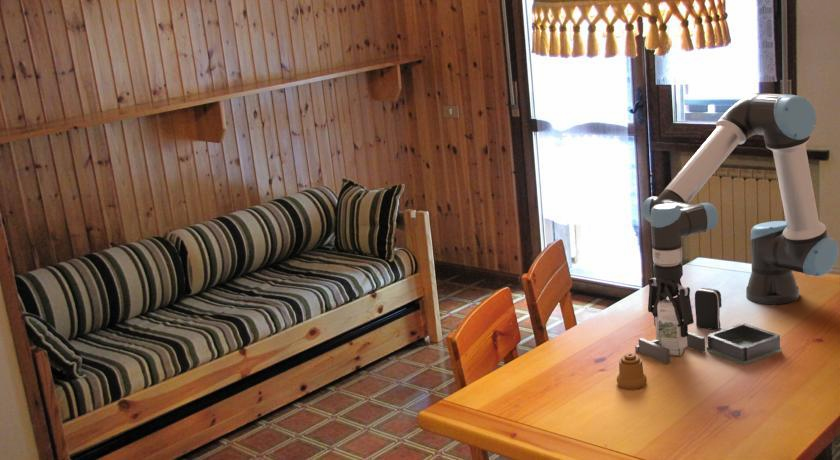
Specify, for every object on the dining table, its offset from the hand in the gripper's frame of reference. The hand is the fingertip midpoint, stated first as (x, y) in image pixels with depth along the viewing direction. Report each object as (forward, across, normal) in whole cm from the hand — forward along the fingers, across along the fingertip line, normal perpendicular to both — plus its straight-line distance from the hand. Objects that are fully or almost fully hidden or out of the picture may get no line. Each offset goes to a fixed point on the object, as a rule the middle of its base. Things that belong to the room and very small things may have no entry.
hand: (671, 342), depth 252 cm
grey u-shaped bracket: (+3, 0, 0) cm, 3 cm away
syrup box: (+3, 0, 0) cm, 3 cm away
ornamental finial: (+3, +9, -21) cm, 23 cm away
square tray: (+3, +12, +14) cm, 19 cm away
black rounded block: (+3, -7, +20) cm, 21 cm away
